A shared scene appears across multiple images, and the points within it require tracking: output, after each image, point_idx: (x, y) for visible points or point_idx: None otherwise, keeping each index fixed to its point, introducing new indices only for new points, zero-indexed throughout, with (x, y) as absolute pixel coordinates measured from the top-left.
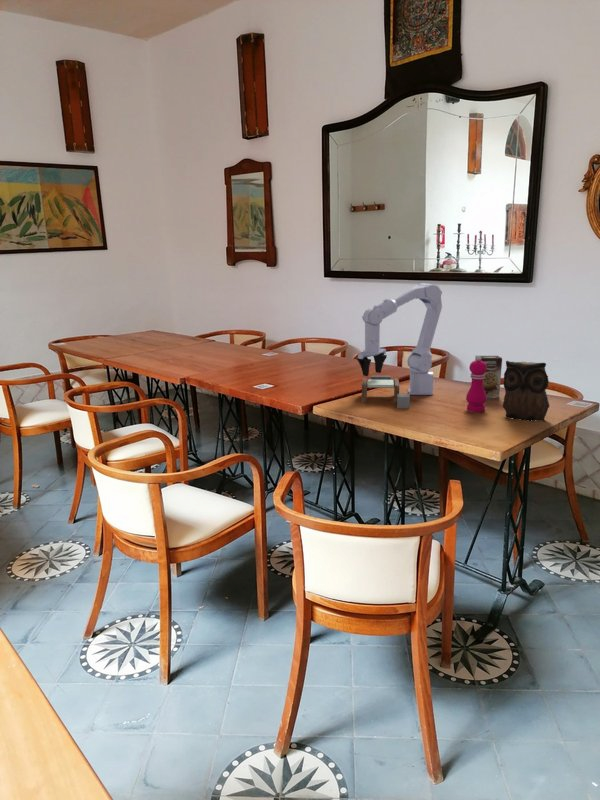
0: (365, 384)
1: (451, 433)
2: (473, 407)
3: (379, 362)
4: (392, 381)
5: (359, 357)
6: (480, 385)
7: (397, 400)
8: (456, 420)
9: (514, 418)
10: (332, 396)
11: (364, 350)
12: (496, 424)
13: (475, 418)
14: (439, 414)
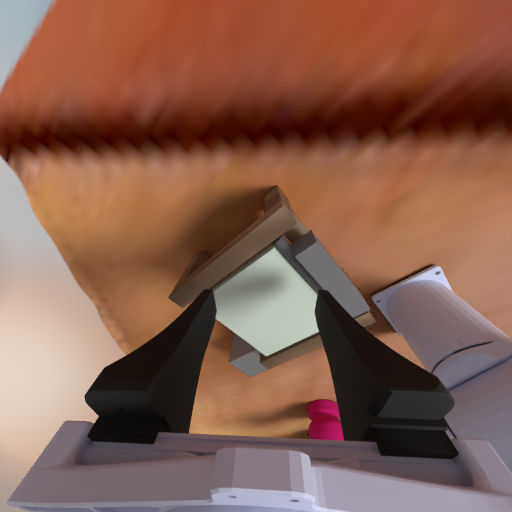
0: (192, 296)
1: (195, 418)
2: (309, 417)
3: (337, 368)
4: (310, 332)
5: (65, 444)
6: None
7: (230, 353)
8: (248, 408)
9: (309, 436)
10: (153, 88)
11: (229, 498)
12: (270, 431)
13: (277, 416)
14: (258, 388)
